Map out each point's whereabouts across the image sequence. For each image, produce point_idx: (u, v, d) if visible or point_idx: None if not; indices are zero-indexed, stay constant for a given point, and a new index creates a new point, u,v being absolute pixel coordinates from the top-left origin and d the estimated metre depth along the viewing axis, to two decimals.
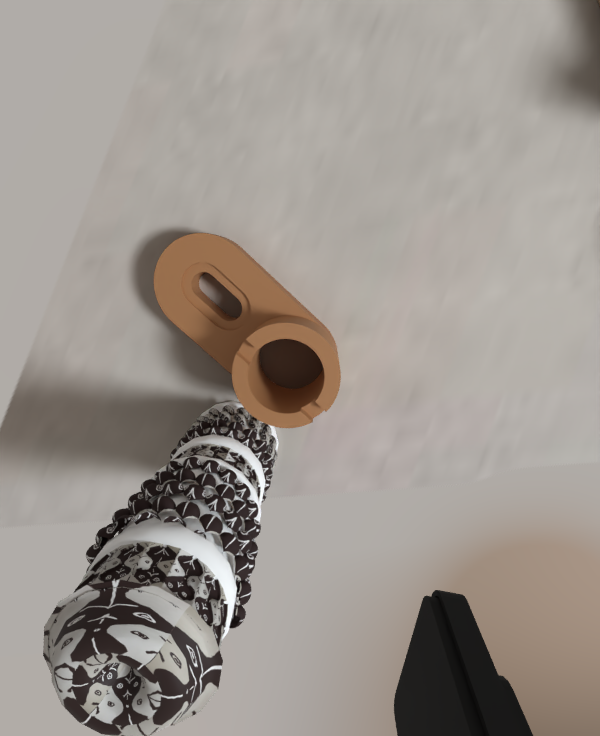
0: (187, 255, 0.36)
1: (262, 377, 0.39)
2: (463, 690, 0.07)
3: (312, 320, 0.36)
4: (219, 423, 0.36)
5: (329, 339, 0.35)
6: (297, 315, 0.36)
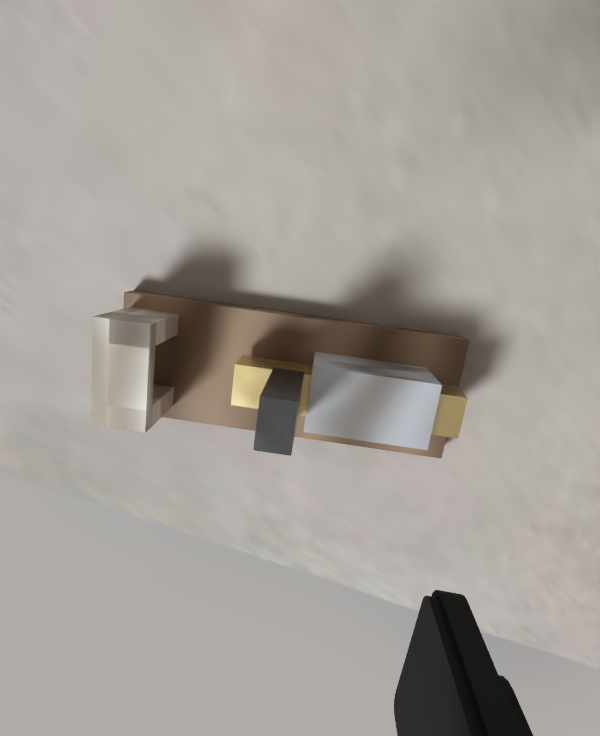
0: None
1: None
2: (463, 690, 0.07)
3: None
4: None
5: None
6: None
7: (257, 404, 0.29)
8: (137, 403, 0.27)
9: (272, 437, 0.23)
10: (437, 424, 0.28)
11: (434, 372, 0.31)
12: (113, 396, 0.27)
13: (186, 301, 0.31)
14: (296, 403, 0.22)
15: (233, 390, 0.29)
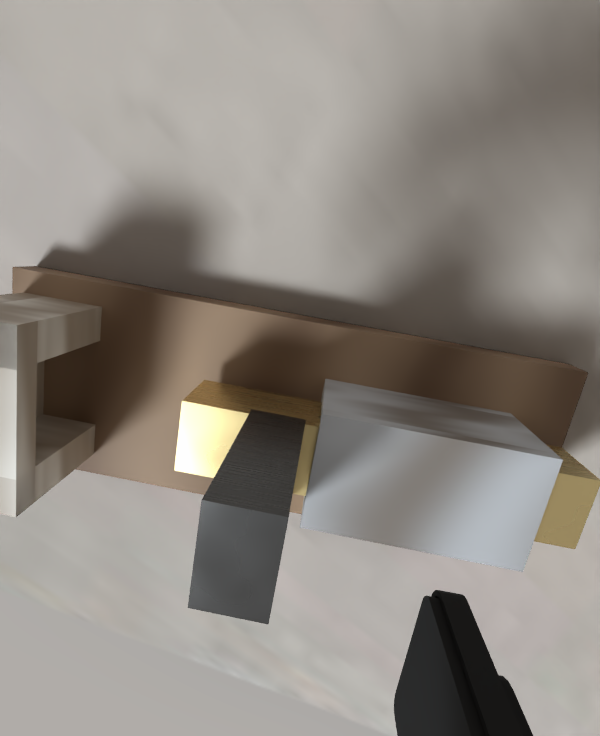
0: None
1: None
2: (463, 690, 0.07)
3: None
4: None
5: None
6: None
7: None
8: (0, 466, 0.15)
9: (228, 585, 0.10)
10: (541, 523, 0.16)
11: (523, 422, 0.19)
12: None
13: (114, 286, 0.19)
14: (283, 520, 0.10)
15: (179, 446, 0.16)
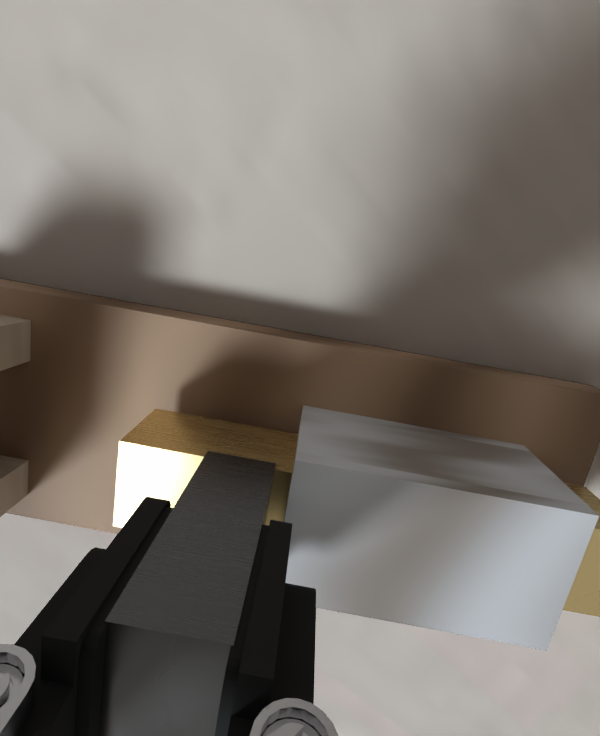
0: None
1: None
2: (251, 586, 0.08)
3: None
4: None
5: None
6: None
7: None
8: None
9: (149, 735, 0.07)
10: None
11: (539, 455, 0.16)
12: None
13: (46, 295, 0.15)
14: (226, 649, 0.07)
15: (118, 496, 0.13)
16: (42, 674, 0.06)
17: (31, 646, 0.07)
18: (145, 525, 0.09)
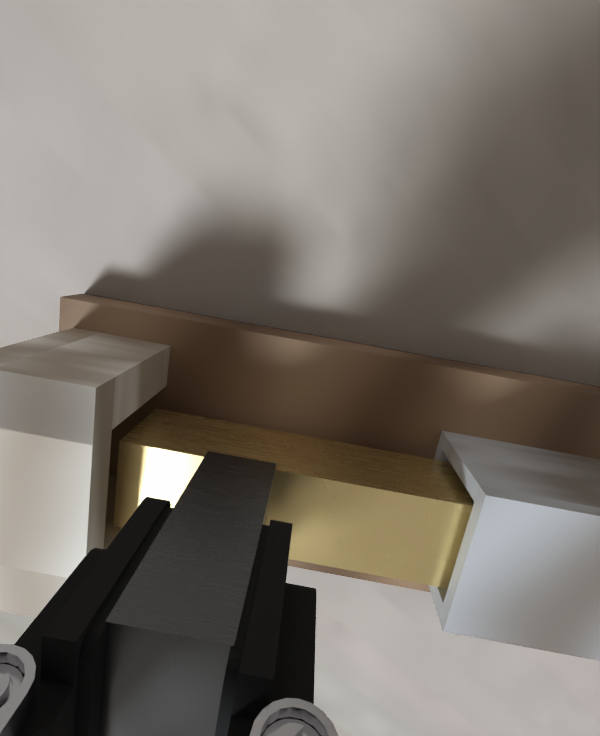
0: None
1: None
2: (251, 586, 0.08)
3: None
4: None
5: None
6: None
7: None
8: (64, 564, 0.12)
9: None
10: None
11: None
12: (7, 546, 0.12)
13: (187, 320, 0.15)
14: (227, 650, 0.07)
15: (118, 496, 0.13)
16: (42, 674, 0.06)
17: (31, 646, 0.07)
18: (145, 525, 0.09)
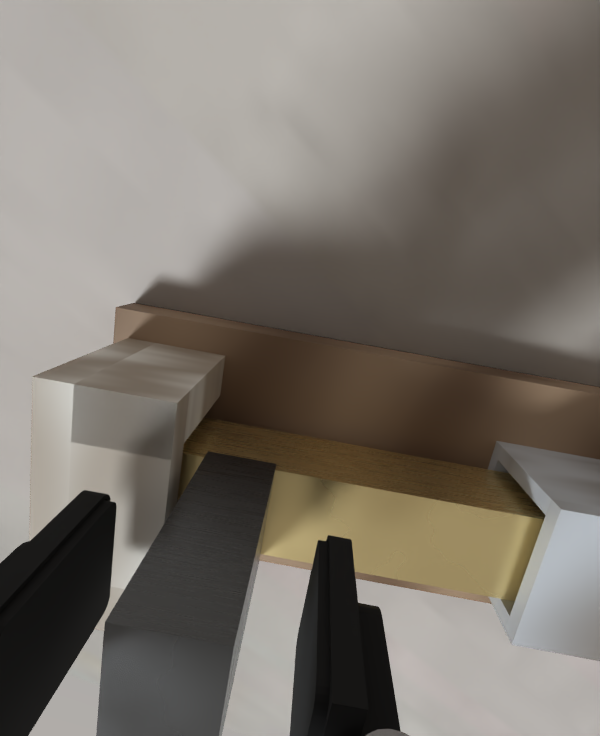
0: None
1: None
2: (323, 607, 0.08)
3: None
4: None
5: None
6: None
7: None
8: None
9: None
10: None
11: None
12: None
13: (242, 331, 0.15)
14: (227, 651, 0.07)
15: None
16: None
17: None
18: (76, 518, 0.09)
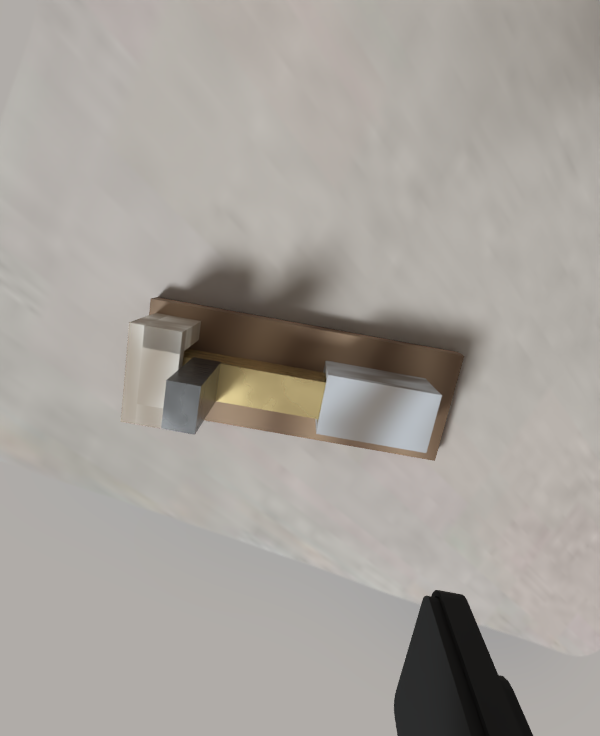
0: None
1: None
2: (463, 690, 0.07)
3: None
4: None
5: None
6: None
7: None
8: None
9: (177, 417, 0.25)
10: None
11: (432, 383, 0.35)
12: (143, 396, 0.30)
13: (209, 309, 0.34)
14: (199, 387, 0.25)
15: None
16: None
17: None
18: None
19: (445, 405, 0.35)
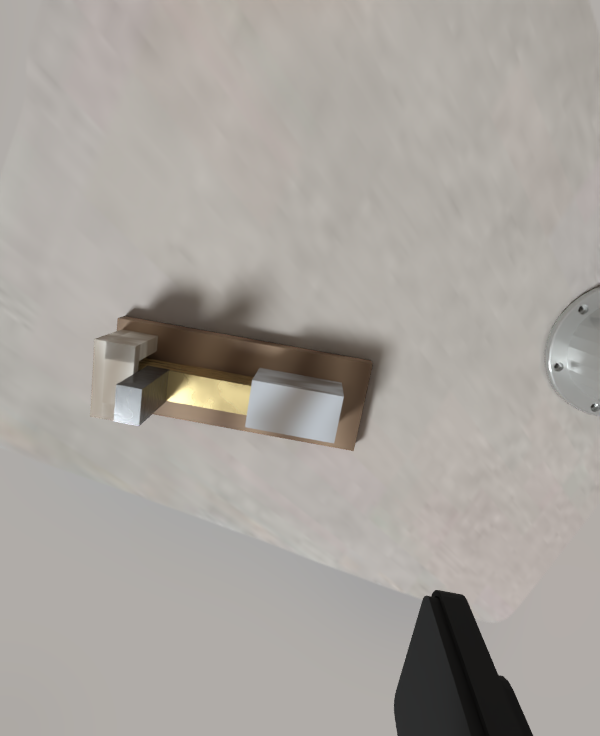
0: None
1: None
2: (463, 690, 0.07)
3: None
4: None
5: None
6: None
7: None
8: None
9: (125, 412, 0.33)
10: None
11: (347, 386, 0.42)
12: (107, 396, 0.38)
13: (164, 326, 0.41)
14: (140, 390, 0.33)
15: None
16: None
17: None
18: None
19: (359, 405, 0.42)
